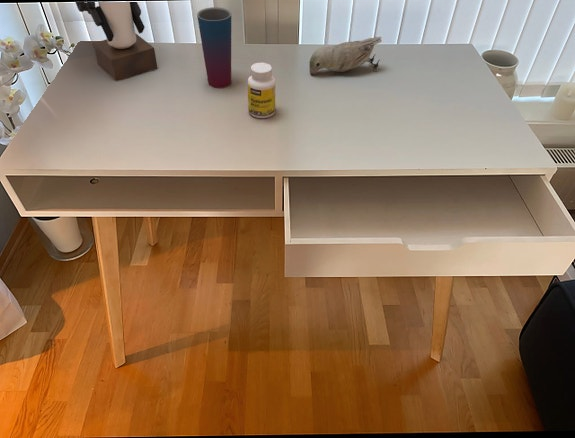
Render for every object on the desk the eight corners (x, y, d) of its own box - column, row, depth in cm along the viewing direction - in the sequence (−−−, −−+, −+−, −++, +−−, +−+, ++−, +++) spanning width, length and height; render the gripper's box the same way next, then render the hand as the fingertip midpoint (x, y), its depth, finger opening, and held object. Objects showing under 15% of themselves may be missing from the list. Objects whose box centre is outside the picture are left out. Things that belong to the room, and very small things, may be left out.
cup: (202, 89, 109) (194, 20, 99) (206, 74, 114) (199, 6, 104) (234, 90, 109) (229, 21, 99) (236, 75, 114) (232, 7, 104)
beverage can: (115, 37, 116) (103, -19, 107) (141, 39, 115) (131, -16, 107) (103, 49, 111) (89, -8, 103) (130, 52, 110) (119, -5, 102)
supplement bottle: (247, 118, 102) (245, 73, 95) (249, 104, 105) (248, 59, 99) (274, 119, 101) (274, 74, 95) (276, 105, 105) (276, 60, 99)
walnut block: (116, 81, 111) (111, 59, 108) (97, 64, 117) (92, 43, 114) (157, 68, 116) (154, 47, 113) (138, 52, 122) (134, 32, 118)
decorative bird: (306, 69, 117) (307, 37, 112) (372, 63, 120) (376, 32, 115) (312, 80, 113) (314, 48, 108) (380, 73, 116) (385, 42, 111)
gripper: (117, -66, 114) (163, 31, 116) (30, -51, 105) (81, 53, 107) (123, -88, 107) (171, 15, 110) (30, -74, 99) (84, 38, 101)
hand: (126, 34), depth 108 cm, fingers closed on beverage can, 6 cm apart
